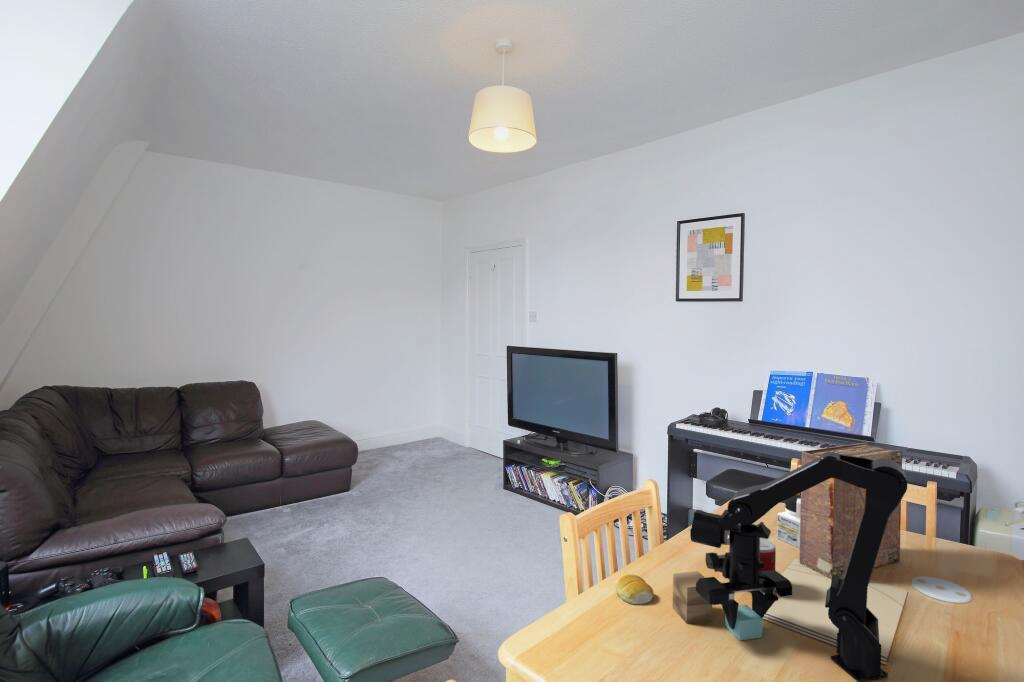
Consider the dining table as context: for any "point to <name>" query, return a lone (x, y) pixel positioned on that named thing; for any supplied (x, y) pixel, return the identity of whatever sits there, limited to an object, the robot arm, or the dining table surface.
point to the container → (790, 521)
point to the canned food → (767, 555)
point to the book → (842, 516)
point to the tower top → (688, 587)
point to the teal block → (746, 624)
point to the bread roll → (634, 589)
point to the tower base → (692, 611)
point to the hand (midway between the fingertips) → (743, 626)
